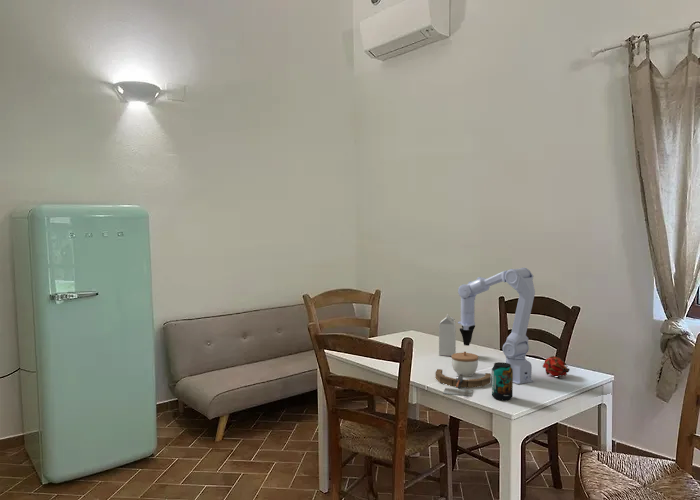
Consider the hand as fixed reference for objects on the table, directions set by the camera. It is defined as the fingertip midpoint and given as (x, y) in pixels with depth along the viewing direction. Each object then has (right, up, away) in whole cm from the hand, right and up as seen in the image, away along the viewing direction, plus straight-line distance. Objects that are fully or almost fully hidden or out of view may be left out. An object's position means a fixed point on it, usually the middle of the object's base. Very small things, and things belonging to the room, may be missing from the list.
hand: (467, 343), depth 223 cm
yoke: (-8, -12, -24) cm, 28 cm away
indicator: (-10, -10, -29) cm, 32 cm away
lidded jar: (-3, -11, -9) cm, 15 cm away
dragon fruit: (+33, -11, -12) cm, 37 cm away
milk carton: (-4, -10, +24) cm, 26 cm away
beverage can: (+4, -13, -38) cm, 41 cm away
